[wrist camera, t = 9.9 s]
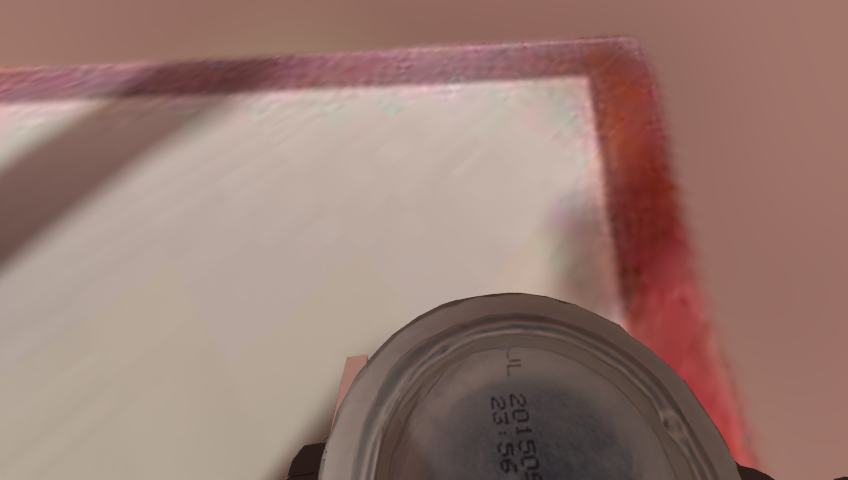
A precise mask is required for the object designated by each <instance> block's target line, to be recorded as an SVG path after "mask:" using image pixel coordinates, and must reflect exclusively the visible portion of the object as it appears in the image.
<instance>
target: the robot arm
mask: <svg viewBox="0 0 848 480" xmlns="http://www.w3.org/2000/svg"><path fill="white" fill-rule="evenodd" d="M367 362H368V356H367V355H361V356H355V357H348V358H347V359H346V364H345V368H344V373H343V377H342V382H341V386H340V391H339V395H338V400H337V404H336V409H335V413H334V418H333V422H332V426H333V423H334V419H335V416H336V413H337V410H338V408H339V407H340V405H341V403H342V401H343V399H344V397H345V395H346V394H347V392H348V390H349V388H350V386H351V384H352V382H353V380H354V378H355V376H356V375H357V374H358V373H359V372H360V370H361V369H362V368H363V367H364V366H365V364H366V363H367ZM332 426H331V429H332ZM330 432H331V431H330ZM326 443H327V442H325V443H318V444H312V445H305V446H303V448H302V449H301V450H300V451H299V453H298V454H297V455H296V457H295V458H294V459H293V461H292V464H291V467H290V470H289V473H288V479H287V480H318V476H319V470H320V464H321V459H322V456H323V452H324V449H325V446H326ZM735 462H736V461H735ZM736 465H737V470H738V473H739V475H740V478H741V480H774V479H773V478H771V477H770V476H768V475H767V474H764V473H762V472H760V471H758V470H755V469H753V468H748V467H744V466H740V465H739V464H738V463H737V462H736ZM834 480H848V477H842V478H837V479H834Z"/></svg>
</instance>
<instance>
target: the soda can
mask: <svg viewBox="0 0 848 480" xmlns="http://www.w3.org/2000/svg"><path fill="white" fill-rule="evenodd" d="M318 480H741V478H740V475H739V473H738V470H737V465H736V462H735V460H734V458H733V456H732V455H731V453H730V450H729V448H728V446H727V444H726V443H725V441H724V439H723V437H722V435H721V433H720V432H719V430H718V429H717V427H716V426H715V424H714V423H713V421H712V420H711V418H710V417H709V415H708V414H707V412H706V411H705V409H704V408H703V406H702V405H701V403H700V402H699V401H698V399H697V398H696V396H695V395H694V393H693V392H692V391H691V389H690V388H689V386H688V385H687V383H686V382H685V381H684V380H683V379H682V378H680V377H679V375H678V374H677V373H676V372H675V371H674V370H673V369H672V368H671V367H670V366H669V365H668V364H666V363H665V362H664V361H663V360H662V359H661V358H660V357H659V356H657V355H656V354H655V353H654V352H653V351H652V350H651V349H649V348H648V347H647V346H645V345H644V344H642V343H641V342H639V341H638V340H636V339H635V338H633V337H632V336H630V335H629V334H628V333H627V332H626V331H625V330H624V329H623V328H622V327H621V326H620V325H618V324H616V323H614V322H612V321H609V320H607V319H605V318H603V317H601V316H599V315H597V314H595V313H593V312H590V311H588V310H586V309H584V308H581V307H579V306H577V305H575V304H571V303H567V302H564V301H560V300H557V299H553V298H550V297H546V296H540V295H532V294H525V293H501V294H491V295H483V296H476V297H471V298H466V299H461V300H455V301H452V302H448V303H445V304H442V305H440V306H438V307H436V308H434V309H432V310H430V311H428V312H426V313H424V314H422V315H420V316H418V317H417V318H416V319H414V320H413V321H411V322H410V323H409V324H407V325H406V326H404V327H403V328H402V329H400V330H399V331H397V332H396V333H395V334H393V335H392V336H391V337H390V338H389V339H388V340H387V341H386V342H385V343H384V344H383V345H382V346H381V347H380V348H379V349H378V350H377V351H376V353H375V354H374V355H373V356H372V357H371V358H370V360H369V361H368V362H367V363H366V364H365V366H364V367H363V368H362V369H361V370H360V372H359V373H358V374H357V375H356V376H355V378H354V380H353V382H352V384H351V386H350V388H349V390H348V392H347V394H346V395H345V397H344V399H343V401H342V403H341V405H340V407H339V408H338V410H337V413H336V416H335V419H334V423H333V426H332V429H331V432H330V435H329V438H328V440H327V443H326V446H325V449H324V452H323V456H322V459H321V464H320V470H319V476H318Z"/></svg>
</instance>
